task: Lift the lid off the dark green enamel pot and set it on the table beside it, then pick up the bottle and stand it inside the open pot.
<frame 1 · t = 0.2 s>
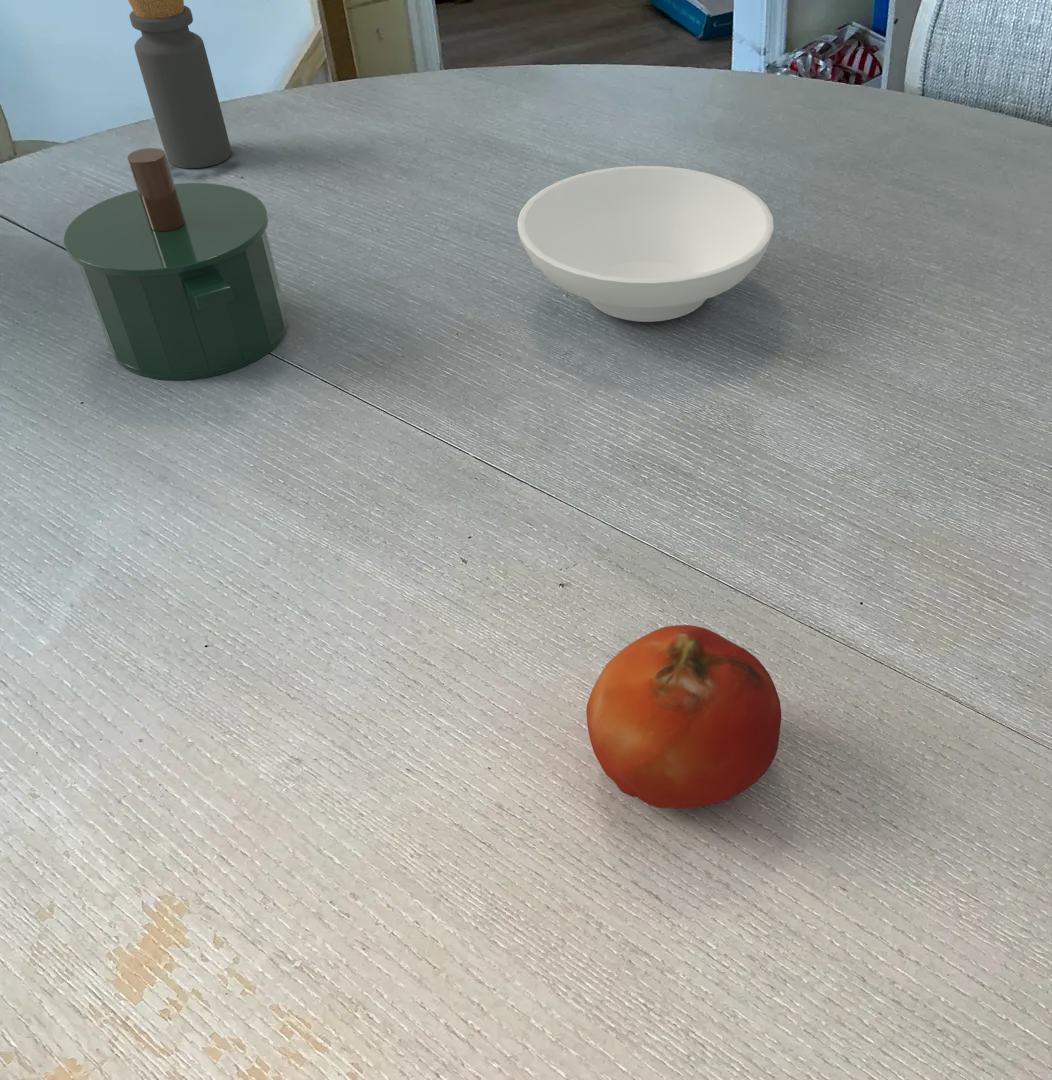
pot: (201, 334, 89), on the table
lid: (169, 230, 83), point 8 cm above the table, touching pot
bottle: (200, 158, 112), on the table
bowl: (647, 300, 94), on the table
tomato: (683, 767, 60), on the table
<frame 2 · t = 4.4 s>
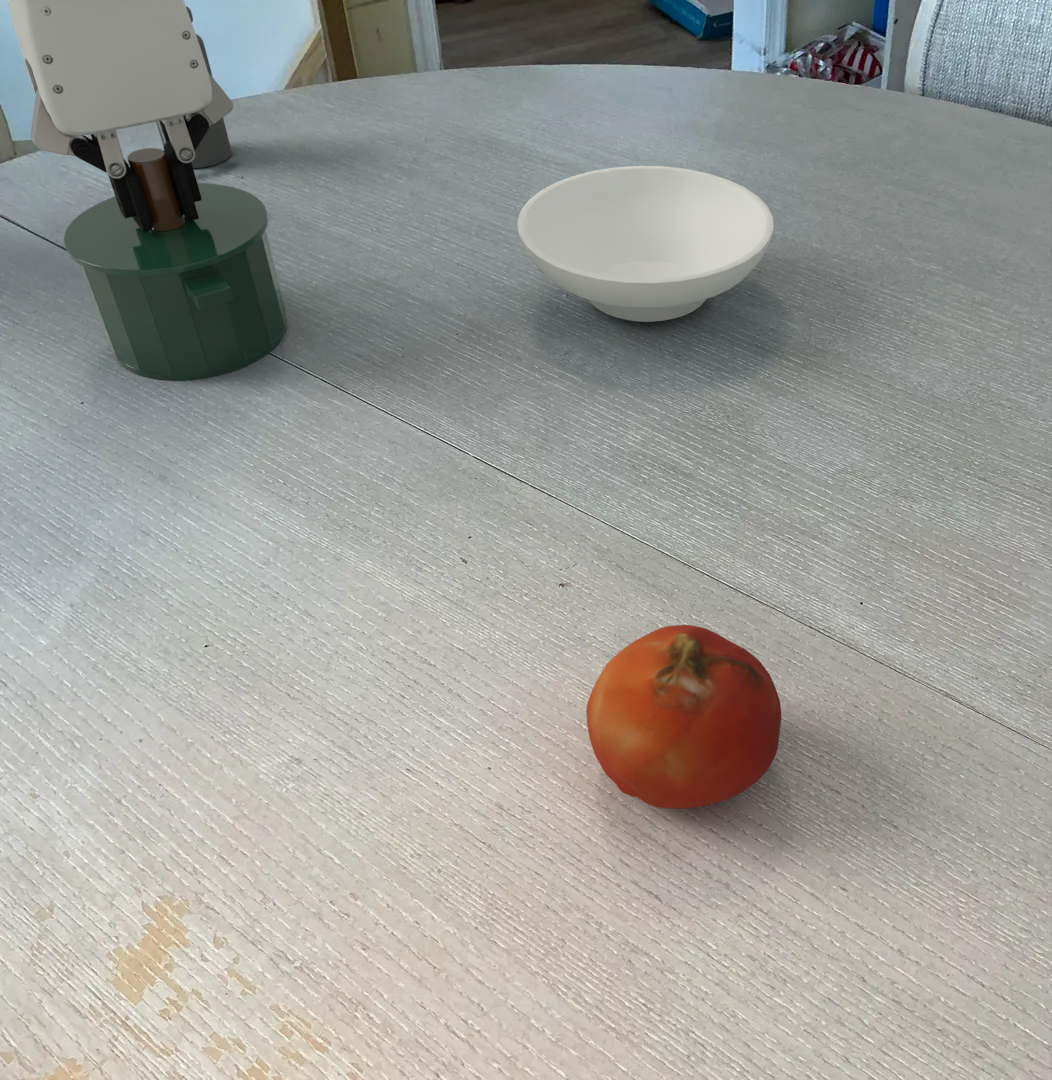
hand: (164, 216, 82), 10 cm above the table, tool pointing down, fingers closed on lid, 2 cm apart
lid: (169, 230, 83), point 9 cm above the table, touching gripper, pot
everything else where it was.
when the fingers open (2 cm above the table, at t = 12.0 s): lid stays where it is, point 1 cm above the table.
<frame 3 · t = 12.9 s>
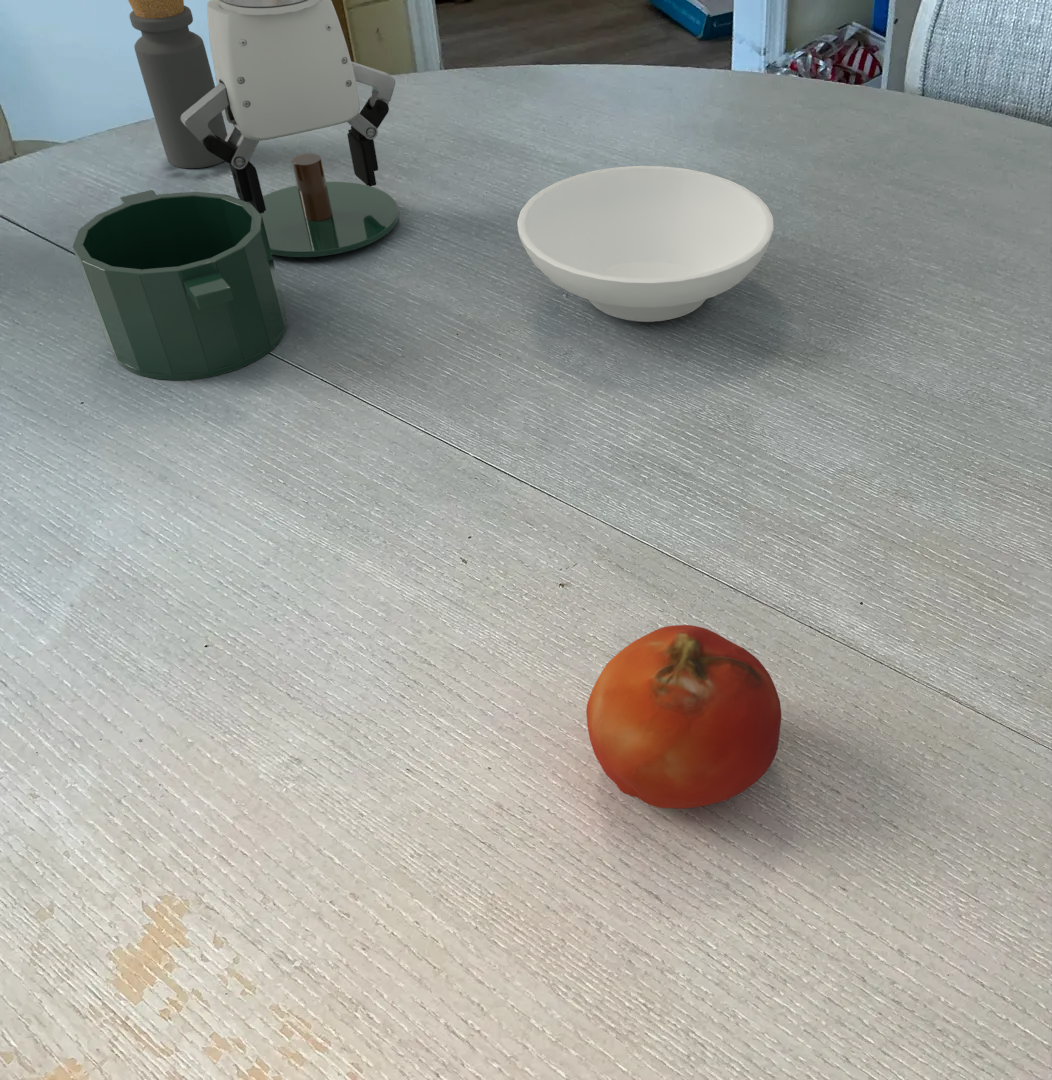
hand: (312, 193, 100), 3 cm above the table, tool pointing down, fingers open, 9 cm apart
lid: (319, 220, 102), point 1 cm above the table
everything else where it was.
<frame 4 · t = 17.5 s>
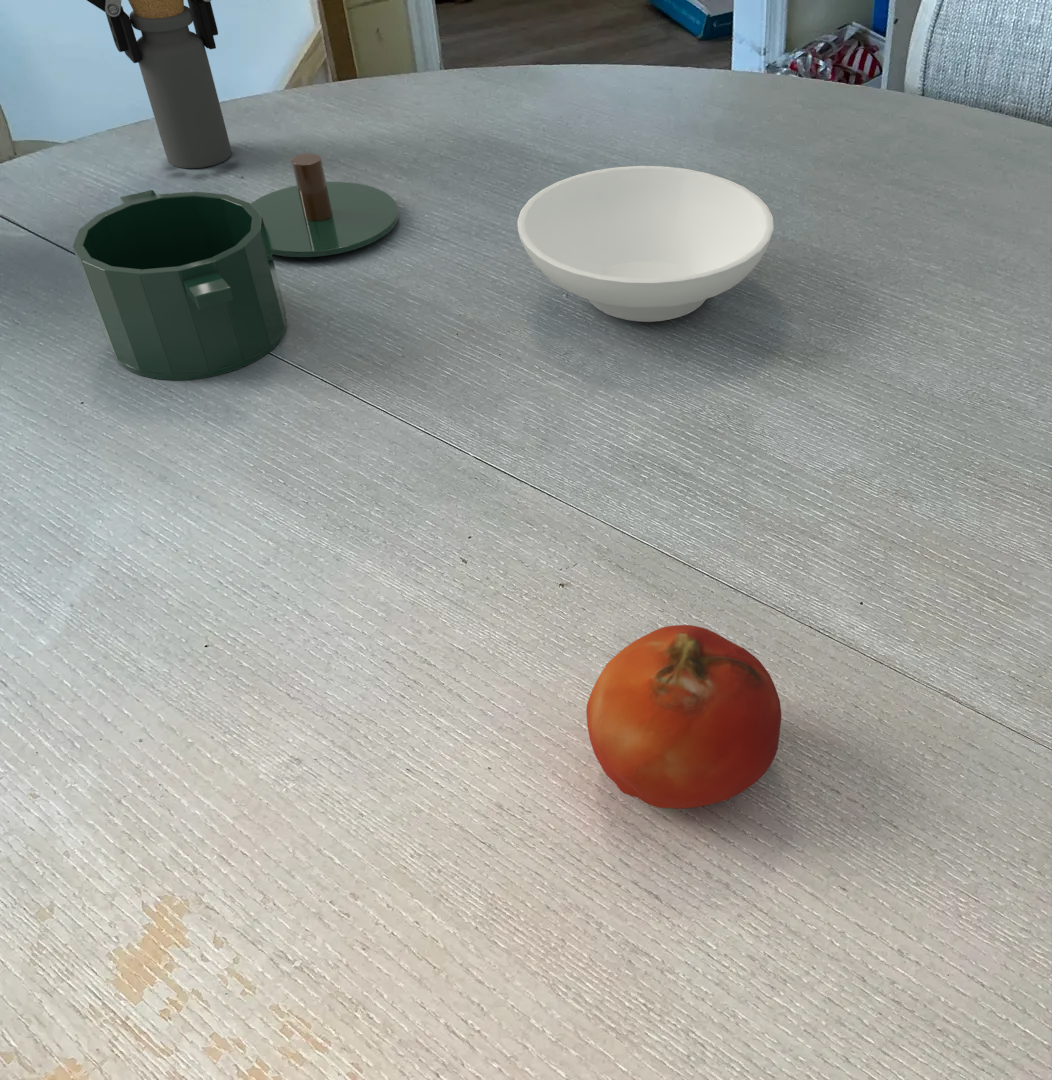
hand: (170, 49, 106), 10 cm above the table, tool pointing down, fingers closed on bottle, 5 cm apart
bottle: (200, 158, 112), on the table, touching gripper
everything else where it was.
when the fingers open (10 cm above the table, at t = 26.3 s): bottle stays where it is, resting on pot.
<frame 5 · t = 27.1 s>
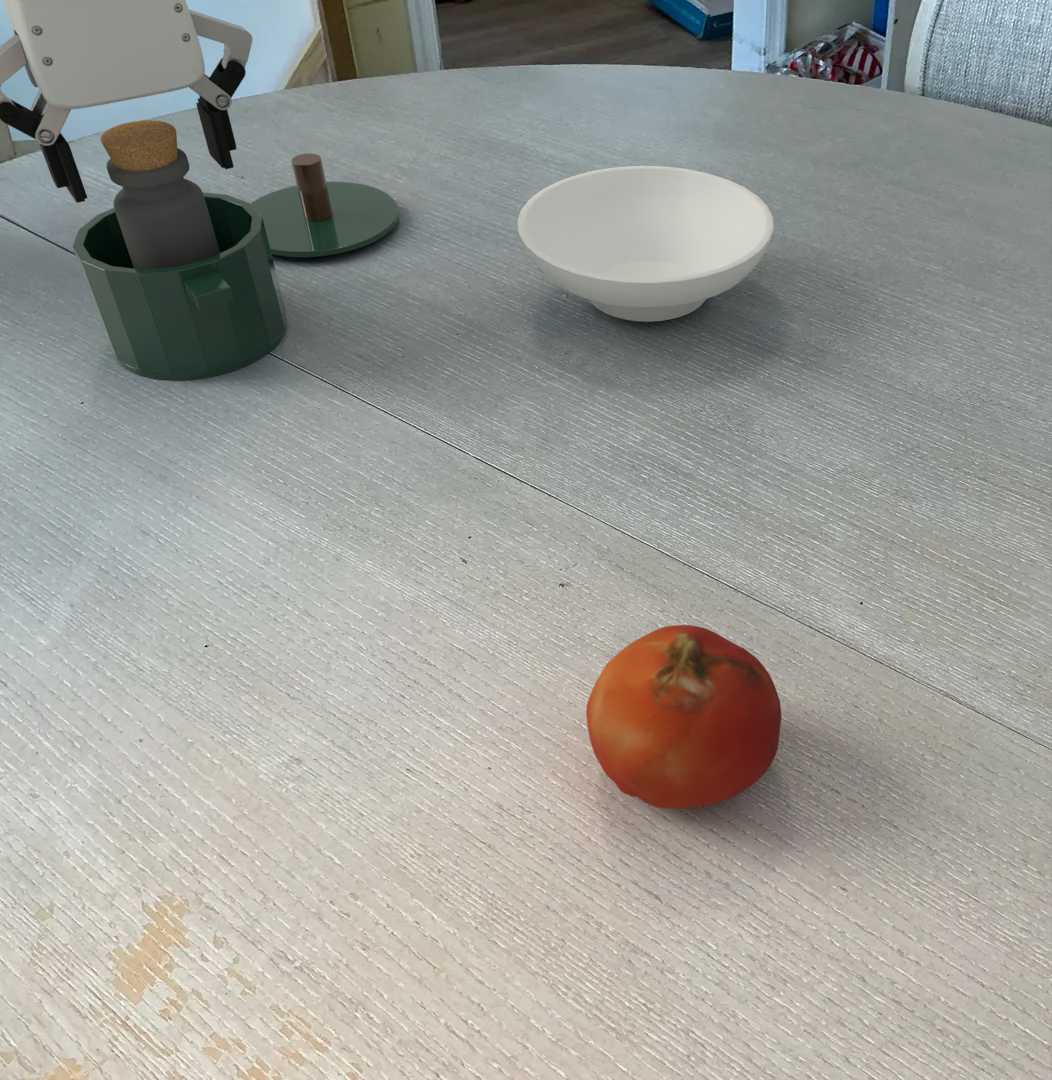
hand: (151, 177, 80), 12 cm above the table, tool pointing down, fingers open, 9 cm apart
bottle: (199, 331, 88), resting on pot
everything else where it was.
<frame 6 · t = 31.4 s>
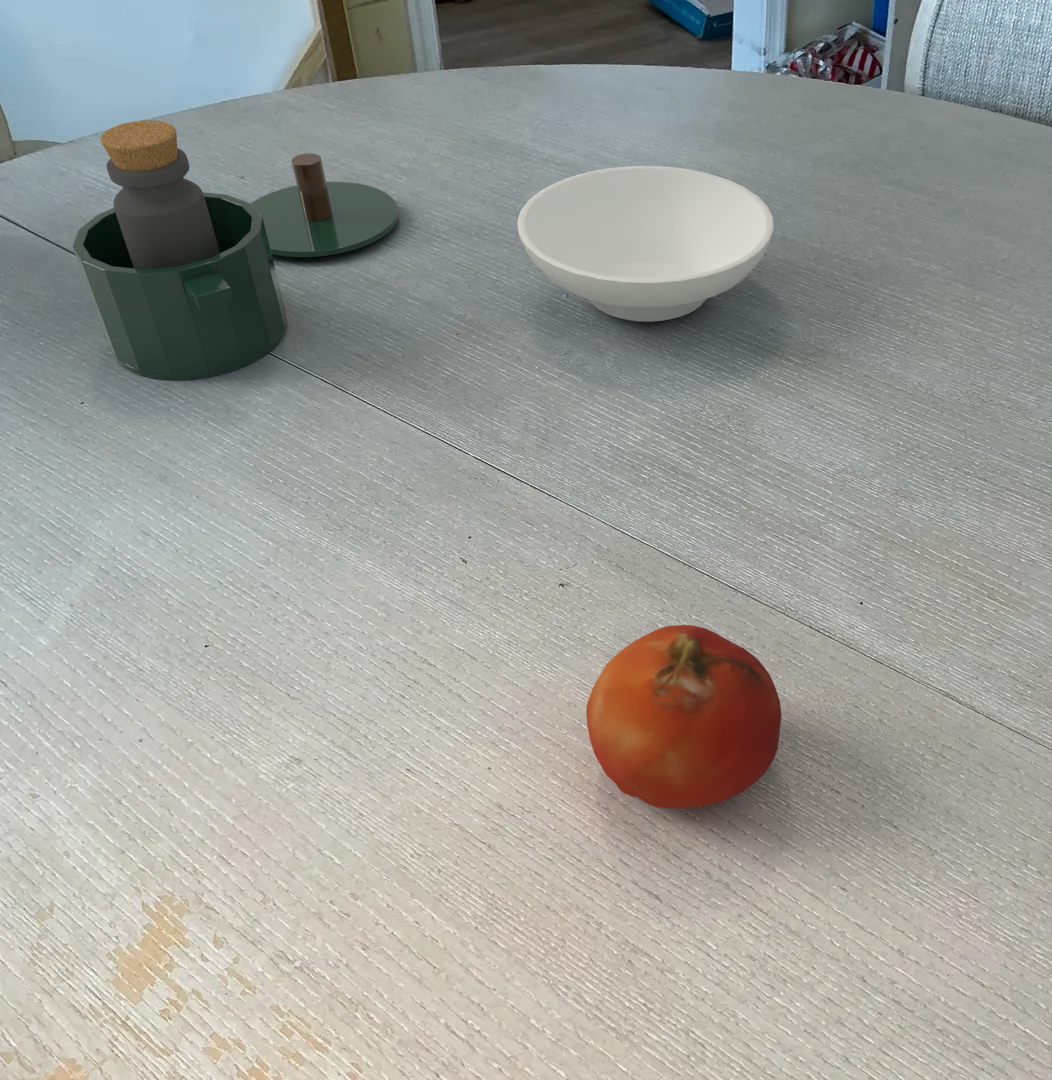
nothing on the table moved.
at the end: lid inside the target area (0.1 cm from its centre), point 0.6 cm above the table; bottle 0.1 cm off-centre in the pot, point 0.3 cm above the pot's base; bottle tilted 0° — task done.
